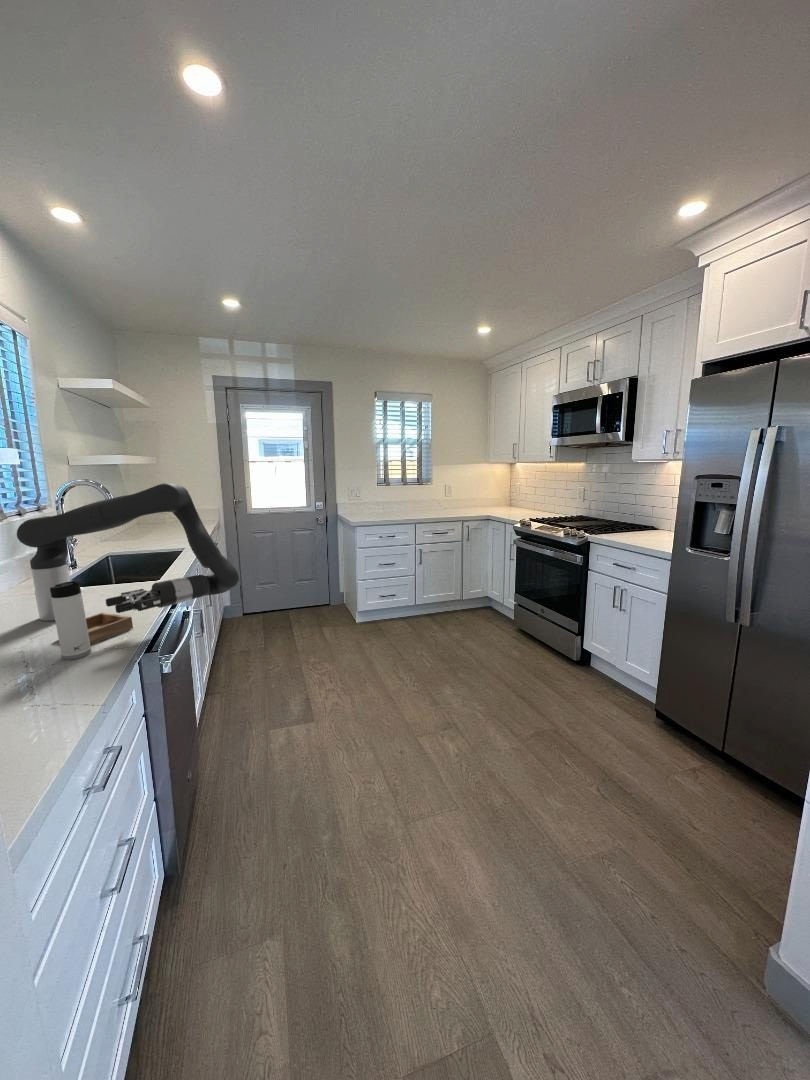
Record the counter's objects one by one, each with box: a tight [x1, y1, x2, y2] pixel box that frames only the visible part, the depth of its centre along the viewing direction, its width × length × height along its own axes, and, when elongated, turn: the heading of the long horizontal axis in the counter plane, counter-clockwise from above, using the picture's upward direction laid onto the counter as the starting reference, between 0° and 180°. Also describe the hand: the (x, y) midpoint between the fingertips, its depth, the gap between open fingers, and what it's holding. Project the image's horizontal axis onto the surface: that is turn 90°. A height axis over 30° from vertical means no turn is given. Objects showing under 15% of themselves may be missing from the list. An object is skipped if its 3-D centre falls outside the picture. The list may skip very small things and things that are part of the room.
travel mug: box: [50, 579, 92, 661], centre depth 115 cm, size 6×7×20 cm
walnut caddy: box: [86, 612, 134, 645], centre depth 131 cm, size 13×13×4 cm
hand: (111, 606), depth 122 cm, fingers open, 8 cm apart
